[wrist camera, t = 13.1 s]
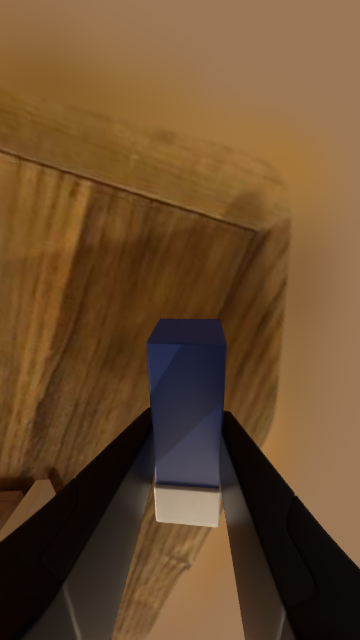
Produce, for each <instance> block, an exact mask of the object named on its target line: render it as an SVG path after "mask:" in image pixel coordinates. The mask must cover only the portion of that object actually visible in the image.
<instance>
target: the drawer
mask: <svg viewBox="0 0 360 640" xmlns="http://www.w3.org/2000/svg"><path fill="white" fill-rule="evenodd" d="M55 495H56V493H55V491H54V488H53V486H52V484H51V481H50V480H49V479H48V480H36V481H35V483H34V484H33V485H32V487H31V488H30V490H29V491H28V492H27V494H26V495H25V497H24V495H23V493H22V491H0V542H1V541H2V540H3V539H4V538H5V537H7V536H8V535H9V534H10V533H12V532H13V531H14V530H15V529H16V528H18V527H19V526H20V525H21V524H23V523H24V522H25V521H26V520H27V519H29V518H30V517H31V516H32V515H33V514H34V513H36V512H37V511H38V510H39V509H40V508H42V507H43V506H44V505H45V504H46V503H47V502H48V501H49V500H51V499H52V498H53V497H54V496H55Z"/></svg>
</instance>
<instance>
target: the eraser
mask: <svg viewBox="0 0 360 640" xmlns="http://www.w3.org/2000/svg"><path fill="white" fill-rule="evenodd" d="M226 352H227V343H226V340H225V336H224V332H223V328H222V324H221V321H220V320H219V319H160V320H159V322H158V323H157V325H156V327H155V329H154V330H153V332H152V334H151V336H150V337H149V339H148V341H147V358H148V374H149V389H150V405H151V420H152V425H153V432H154V449H155V482H154V497H155V511H156V521H158V522H166V523H177V524H188V525H199V526H210V527H218V526H219V522H220V503H221V485H220V476H219V459H220V440H221V429H222V427H223V410H224V391H225V371H226Z"/></svg>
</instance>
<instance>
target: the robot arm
mask: <svg viewBox="0 0 360 640" xmlns="http://www.w3.org/2000/svg"><path fill="white" fill-rule="evenodd" d="M154 469H155V449H154V432H153V425H152V420H151V407H149V408H147V409H146V410H145V411H144V412H143V413H142V414H141V415H140V416H139V417H138V418H136V419H135V420H134V421H133V422H132V423H131V424H130V425H129V426H128V427H127V428H126V429H125V430H124V431H123V432H122V433H121V434H120V435H119V436H118V437H116V438H115V439H114V440H113V441H112V442H111V443H110V444H109V445H108V446H107V447H106V448H105V449H104V450H103V451H102V452H101V453H100V454H99V455H98V456H96V457H95V458H94V459H93V460H92V461H91V462H90V463H89V464H88V465H87V466H86V467H85V468H84V469H83V470H82V471H81V472H80V473H79V474H78V475H77V476H76V478H73V479H72V480H71V481H70V482H69V483H68V484H67V485H66V486H65V487H64V488H63V489H62V490H60V491H59V492H58V493H57V494H56V495H55V496H54V497H53V498H52V499H51V500H49V501H48V502H47V503H46V504H45V505H44V506H43V507H42V508H40V509H39V510H38V511H37V512H36V513H34V514H33V515H32V516H31V517H30V518H29V519H27V520H26V521H25V522H24V523H23V524H21V525H20V526H19V527H18V528H16V529H15V530H14V531H13V532H12V533H10V534H9V535H8V536H7V537H5V538H4V539H3V540H2V541H1V542H0V640H111V638H112V634H113V630H114V626H115V622H116V618H117V615H118V611H119V607H120V603H121V599H122V595H123V591H124V588H125V584H126V580H127V576H128V572H129V568H130V565H131V561H132V557H133V553H134V549H135V545H136V542H137V538H138V534H139V530H140V526H141V522H142V519H143V515H144V511H145V507H146V503H147V499H148V496H149V492H150V488H151V484H152V480H153V475H154ZM219 476H220V485H221V492H222V498H223V505H224V511H225V516H226V523H227V530H228V536H229V542H230V548H231V554H232V560H233V567H234V572H235V579H236V586H237V592H238V598H239V604H240V610H241V617H242V623H243V629H244V636H245V640H360V569H359V567H358V566H357V565H356V564H355V563H354V562H353V561H352V560H351V559H350V558H349V557H348V556H347V555H346V553H345V552H344V551H343V550H342V549H341V548H340V547H339V546H338V544H337V543H336V542H335V541H334V540H333V539H332V538H331V537H330V535H328V534H327V532H326V531H325V530H324V529H323V527H322V526H321V525H320V524H319V523H318V521H317V520H316V519H315V518H314V517H313V515H312V514H311V513H310V512H309V511H308V509H307V508H306V507H305V506H304V504H303V503H302V502H301V500H300V499H299V498H298V497H297V496H294V495H295V494H294V492H293V490H292V489H291V488H290V487H289V486H288V484H287V483H286V482H285V480H283V478H282V477H281V475H280V474H279V473H278V472H277V470H276V469H275V468H274V467H273V465H272V464H271V463H270V462H269V460H268V459H267V458H266V457H265V455H264V454H263V453H262V451H261V450H260V449H259V447H258V446H257V445H256V444H255V442H254V441H253V440H252V439H251V437H250V436H249V435H248V434H247V432H246V431H245V430H244V429H243V427H242V426H241V425H240V423H239V422H238V421H237V420H236V418H235V417H234V416H233V415H232V413H231V412H229V411H223V427H222V429H221V440H220V459H219Z"/></svg>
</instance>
